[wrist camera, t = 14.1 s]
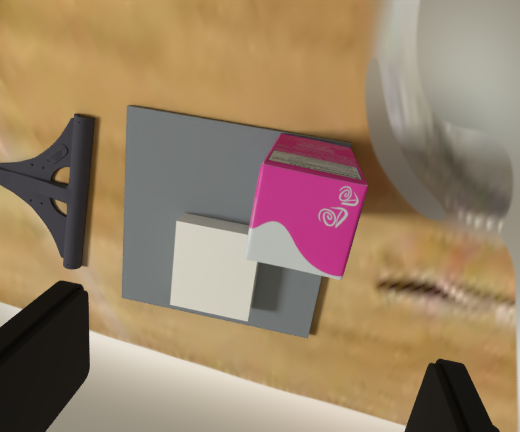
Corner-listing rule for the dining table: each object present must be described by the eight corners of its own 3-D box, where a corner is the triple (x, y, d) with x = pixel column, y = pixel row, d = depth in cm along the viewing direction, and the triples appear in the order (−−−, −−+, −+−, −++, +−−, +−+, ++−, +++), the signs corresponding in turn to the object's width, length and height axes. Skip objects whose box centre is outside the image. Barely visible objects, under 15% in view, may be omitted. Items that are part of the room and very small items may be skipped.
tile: (176, 220, 33) (169, 304, 36) (261, 237, 32) (247, 321, 35) (185, 212, 35) (178, 292, 38) (264, 227, 34) (251, 308, 37)
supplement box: (336, 216, 33) (341, 285, 22) (265, 200, 33) (236, 260, 23) (355, 146, 31) (370, 185, 20) (279, 130, 31) (254, 160, 21)
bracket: (-60, 73, 35) (-91, 73, 33) (99, 117, 34) (80, 121, 32) (-53, 221, 41) (-79, 231, 38) (85, 262, 40) (69, 276, 37)
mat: (130, 105, 33) (127, 105, 32) (351, 142, 31) (351, 144, 31) (124, 294, 39) (121, 297, 39) (308, 334, 38) (307, 338, 37)
